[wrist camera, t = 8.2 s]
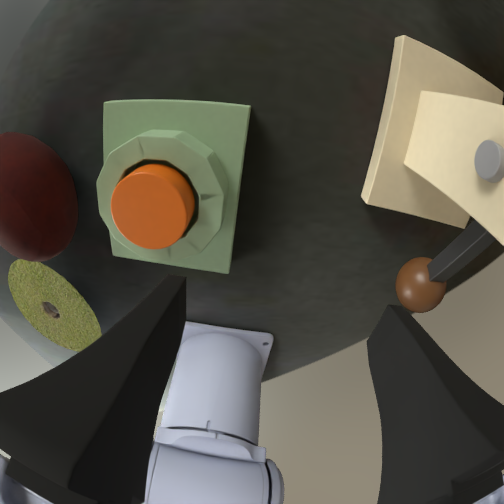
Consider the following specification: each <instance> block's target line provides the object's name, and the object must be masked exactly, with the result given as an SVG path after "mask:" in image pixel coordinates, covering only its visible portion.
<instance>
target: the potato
mask: <svg viewBox="0 0 504 504" xmlns="http://www.w3.org/2000/svg"><path fill="white" fill-rule="evenodd" d="M77 221H78V201H77V193H76V189H75V185H74V181H73V178H72V176H71V174H70V172H69V169H68V167H67V165H66V164H65V163H64V162H63V160H62V159H61V158H60V157H59V156H58V154H57V153H56V152H55V151H54V150H53V149H52V148H51V147H49V146H48V145H46V144H45V143H43V142H41V141H40V140H38V139H37V138H35V137H34V136H31V135H26V134H21V133H17V132H6V133H3V134H0V245H1V246H2V247H3V248H4V249H6V250H7V251H8V252H9V253H11V254H12V255H14V256H16V257H18V258H20V259H22V260H27V261H31V262H42V261H46V260H49V259H51V258H53V257H55V256H56V255H58V254H60V253H61V252H62V251H63V250H64V249H65V248H66V247H67V246H68V244H69V243H70V242H71V240H72V238H73V236H74V233H75V229H76V226H77Z"/></svg>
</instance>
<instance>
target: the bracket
mask: <svg viewBox="0 0 504 504" xmlns="http://www.w3.org/2000/svg"><path fill="white" fill-rule="evenodd" d="M503 94H504V93H503V92H502V91H501V90H500V89H498V88H497V87H495V86H494V85H493V84H491V83H490V82H488V81H487V80H485V79H484V78H482V77H481V76H479V75H478V74H476V73H475V72H473V71H472V70H470V69H469V68H467V67H465V66H464V65H462V64H460V63H459V62H457V61H455V60H453V59H452V58H450V57H448V56H446V55H444V54H442V53H441V52H439V51H437V50H435V49H433V48H431V47H429V46H427V45H425V44H423V43H421V42H418V41H416V40H414V39H412V38H410V37H407V36H405V35H402V36H399V37H396V38H395V43H394V50H393V57H392V63H391V69H390V75H389V80H388V86H387V91H386V96H385V101H384V106H383V111H382V116H381V120H380V125H379V129H378V133H377V137H376V142H375V146H374V150H373V154H372V158H371V161H370V165H369V169H368V173H367V176H366V180H365V183H364V187H363V190H362V194H361V197H362V199H363V200H364V201H365V203H366V204H369V205H373V206H378V207H382V208H387V209H391V210H395V211H399V212H403V213H408V214H412V215H415V216H419V217H423V218H427V219H431V220H435V221H438V222H442V223H445V224H449V225H453V226H456V227H459V228H463V229H465V227H466V224H467V222H468V220H469V217H470V215H471V216H472V217H473V218H474V219H475V220H476V221H477V222H479V223H480V224H481V225H482V226H483V227H484V228H485V229H486V230H487V231H488V232H489V233H490V234H491V235H492V236H494V237H495V238H496V239H497V240H498V241H499V242H500V243H501V244H502V245H503V246H504V106H503V105H502V101H503Z"/></svg>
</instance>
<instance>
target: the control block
mask: <svg viewBox="0 0 504 504" xmlns="http://www.w3.org/2000/svg"><path fill="white" fill-rule="evenodd" d="M250 112H251V106H249V105H241V104H232V103H221V102H209V101H194V100H166V99H139V100H114V101H108V102H104V115H103V152H104V166H103V168H102V170H101V173H100V175H99V177H98V179H97V195H98V206H99V213H100V215H101V217H102V219H103V220H104V222H105V224H106V225H107V227H108V228H109V231H110V239H111V246H112V253H113V256H119V257H125V258H131V259H137V260H143V261H149V262H155V263H161V264H167V265H173V266H180V267H186V268H193V269H199V270H206V271H213V272H219V273H226V274H229V271H230V266H231V259H232V251H233V242H234V234H235V226H236V217H237V209H238V201H239V193H240V185H241V178H242V170H243V163H244V155H245V148H246V140H247V133H248V126H249V119H250ZM147 164H163V165H166V166H169V167H171V168H173V169H175V170H176V171H178V172H179V173H180V174H181V175H182V176H183V177H184V178H185V179H186V180H187V181H188V183H189V185H190V187H191V189H192V191H193V195H194V200H195V208H194V213H193V216H192V218H191V220H190V222H189V224H188V226H187V228H186V230H185V232H184V233H183V235H182V237H181V238H180V239H179V240H178V241H177V242H176V243H174V244H173V245H171V246H169V247H166V248H163V249H146V248H143V247H140V246H137V245H135V244H133V243H132V242H130V241H129V240H128V239H126V238H125V237H124V236H123V235H122V234H121V232H120V231H119V230H118V228H117V227H116V225H115V223H114V220H113V217H112V214H111V198H112V194H113V191H114V189H115V187H116V186H117V184H118V183H119V182H120V181H121V180H122V179H123V178H125V177H126V176H127V175H129V174H130V173H131V172H133V171H134V170H136V169H137V168H139V167H141V166H143V165H147Z"/></svg>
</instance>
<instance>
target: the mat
mask: <svg viewBox="0 0 504 504" xmlns="http://www.w3.org/2000/svg"><path fill="white" fill-rule="evenodd" d="M8 276H9V277H8V282H9V287H10V291H11V293H12V296H13V299H14V300H15V303H16V304H17V306H18V308H19V310H20V311H21V312H22V314H23V316H24V317H25V318H26V319H27V320H28V321H29V322H30V323H31V325H32V326H33V327H34V328H35V329H36V330H37V331H38V332H40V333H41V334H42V335H43V336H45V337H46V338H48V339H49V340H51V341H53V342H54V343H56V344H58V345H60V346H62V347H65V348H67V349H70V350H74V351H78V352H80V351H82V350H83V349H85V348H86V347H87V346H89V345H90V344H92V343H93V342H94V341H96V340H97V339H98V338H100V337H101V336H102V335H101V328H100V325H99V323H98V321H97V318H96V316H95V313H94V312H93V311H92V309H91V308H90V306H89V305H88V304H87V303H86V301H85V300H84V298H83V296H81V295H80V294H79V293H78V291H77V290H76V289H75V288H74V286H73V285H71V284H70V283H69V282H68V281H67V280H66V279H65V278H64V277H62V276H61V275H59V274H58V273H57V272H55V271H54V270H52V269H51V268H49V267H47V266H46V265H44V264H41V262H31V261H27V260H22V259H19V260H17V261H15V262H14V263H13V264H12V266H11V267H10V270H9V274H8Z"/></svg>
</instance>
